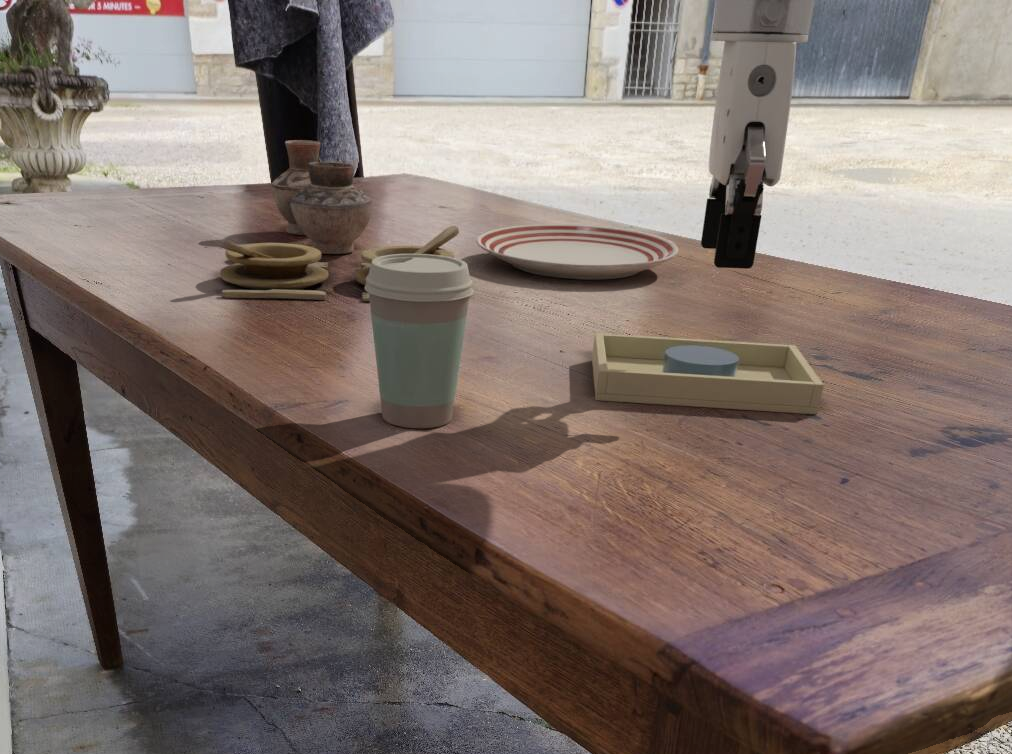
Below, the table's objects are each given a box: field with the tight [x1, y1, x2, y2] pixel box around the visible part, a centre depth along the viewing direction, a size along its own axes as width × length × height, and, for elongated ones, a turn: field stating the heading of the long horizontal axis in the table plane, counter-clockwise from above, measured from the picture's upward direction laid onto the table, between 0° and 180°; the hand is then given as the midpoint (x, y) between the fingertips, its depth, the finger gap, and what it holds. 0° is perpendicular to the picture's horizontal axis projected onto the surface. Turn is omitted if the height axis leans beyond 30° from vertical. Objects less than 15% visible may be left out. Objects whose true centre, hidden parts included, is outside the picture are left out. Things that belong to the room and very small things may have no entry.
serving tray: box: [591, 332, 825, 415], centre depth 97 cm, size 20×14×3 cm
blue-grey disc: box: [662, 345, 739, 377], centre depth 97 cm, size 7×7×2 cm
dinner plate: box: [476, 223, 679, 281], centre depth 143 cm, size 27×27×3 cm
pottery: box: [270, 139, 374, 255], centre depth 148 cm, size 11×25×12 cm, turn 22°
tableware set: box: [219, 225, 460, 302], centre depth 127 cm, size 30×20×6 cm, turn 95°
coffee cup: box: [364, 254, 475, 430], centre depth 84 cm, size 8×8×12 cm
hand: (725, 257), depth 92 cm, fingers open, 9 cm apart
